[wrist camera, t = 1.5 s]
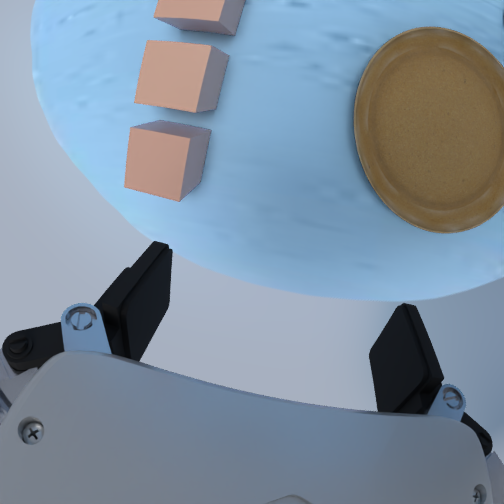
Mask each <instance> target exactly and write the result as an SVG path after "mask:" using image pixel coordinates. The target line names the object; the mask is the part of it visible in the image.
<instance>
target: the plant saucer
mask: <svg viewBox="0 0 504 504" xmlns="http://www.w3.org/2000/svg"><path fill="white" fill-rule="evenodd" d="M354 134H355V141H356V146H357V151H358V155H359V158H360V161H361V164H362V167H363V169H364V172H365V174H366V176H367V178H368V180H369V182H370V184H371V185H372V187H373V189H374V190H375V192H376V193H377V195H378V196H379V197H380V198H381V200H382V201H383V202H384V203H385V204H386V205H387V206H388V208H389V209H390V210H391V211H393V212H394V213H395V214H396V215H398V216H399V217H400V218H402V219H403V220H404V221H406V222H408V223H409V224H411V225H413V226H415V227H418V228H420V229H423V230H426V231H430V232H435V233H457V232H462V231H466V230H469V229H472V228H475V227H477V226H479V225H481V224H482V223H484V222H486V221H487V220H489V219H490V218H491V217H493V216H494V215H495V214H496V213H497V212H498V211H499V210H500V209H501V208H502V207H503V206H504V67H503V66H502V65H501V64H500V62H499V61H498V60H497V59H496V58H495V57H494V56H493V55H492V54H491V53H490V52H489V51H488V50H487V49H486V48H485V47H483V46H482V45H481V44H480V43H478V42H477V41H475V40H473V39H472V38H470V37H468V36H466V35H464V34H462V33H460V32H457V31H454V30H450V29H446V28H441V27H420V28H415V29H411V30H408V31H405V32H402V33H400V34H398V35H396V36H395V37H393V38H392V39H390V40H389V41H387V42H386V43H385V44H384V45H383V46H382V47H381V48H380V49H379V50H378V51H377V52H376V53H375V54H374V56H373V57H372V59H371V60H370V61H369V63H368V65H367V67H366V68H365V70H364V72H363V75H362V77H361V80H360V83H359V86H358V89H357V93H356V98H355V105H354Z"/></svg>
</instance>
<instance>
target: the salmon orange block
mask: <svg viewBox="0 0 504 504" xmlns="http://www.w3.org/2000/svg"><path fill="white" fill-rule="evenodd" d="M210 134H211V130H209V129H204V128H199V127H195V126H190V125H185V124H179V123H174V122H169V121H163V120H158V121H154V122H150V123H146V124H142V125H138V126H134V127H130V135H129V143H128V151H127V161H126V172H125V184H124V187H125V188H129V189H133V190H136V191H140V192H144V193H148V194H152V195H156V196H159V197H163V198H167V199H171V200H174V201H178V202H180V201H181V200H182V199H183V198H184V197H185V196H186V195H187V194H188V193H189V192H191V191H192V190H193V189H194V188H195V187H196V186H197V185H198V184H199V183H200V182H201V178H202V173H203V168H204V163H205V158H206V153H207V148H208V143H209V139H210Z"/></svg>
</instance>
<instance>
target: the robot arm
mask: <svg viewBox="0 0 504 504" xmlns="http://www.w3.org/2000/svg"><path fill="white" fill-rule="evenodd" d="M172 253H173V251H172V249H169V245H168V244H165V243H161V242H157V241H154V242H153V243H152V244H151V245H150V246H149V247H148V248H147V249H146V251H145V252H144V253H143V254H142V255H141V257H139V259H138V260H137V261H136V262H135V263H134V264H133V266H132V267H131V268H129V267H127V268H125V269H124V270H123V271H122V273H121V274H120V275H119V276H118V277H117V278H116V280H115V281H114V282H113V283H112V284H111V285H110V287H109V288H108V289H107V290H106V291H105V293H104V294H103V295H102V296H101V297H100V299H99V300H98V301H97V302H96V304H95V305H94V306H93V305H91V304H86V303H78V304H74V305H72V306H70V307H68V308H67V309H66V310H65V311H64V312H63V314H62V316H61V322H58V323H54V324H49V325H45V326H40V327H35V328H31V329H26V330H21V331H17V332H14V333H12V334H11V335H9V336H8V337H7V338H6V339H5V341H4V343H3V346H2V349H0V504H504V465H503V463H502V462H501V460H500V459H499V457H498V456H497V454H496V453H495V452H493V453H491V450H492V439H491V436H490V435H489V433H488V432H487V431H486V430H485V429H483V428H482V427H481V426H480V425H479V424H478V423H477V422H476V421H474V420H473V419H472V418H471V417H470V416H469V415H468V414H466V413H465V412H464V410H465V407H466V400H465V397H464V395H463V393H462V392H461V391H460V390H459V389H458V388H456V386H454V385H451V384H445V385H443V386H442V383H441V382H442V381H443V379H444V376H443V373H442V370H441V368H440V365H439V362H438V359H437V357H436V354H435V351H434V349H433V346H432V343H431V341H430V338H429V336H428V333H427V331H426V328H425V326H424V324H423V321H422V319H421V317H420V314H419V312H418V310H417V308H416V306H414V305H410V304H406V303H403V304H402V305H401V306H398V307H397V308H396V309H395V311H394V313H393V314H392V316H391V318H390V319H389V321H388V323H387V324H386V326H385V328H384V329H383V331H382V332H381V334H380V336H379V337H378V339H377V340H376V342H375V343H374V345H373V346H372V348H371V350H370V353H369V359H370V365H371V370H372V376H373V382H374V389H375V395H376V402H377V409H378V412H376V411H375V412H374V411H364V410H354V409H344V408H337V407H328V406H321V405H315V404H308V403H302V402H296V401H290V400H284V399H279V398H274V397H269V396H264V395H259V394H255V393H250V392H246V391H241V390H237V389H233V388H228V387H225V386H221V385H216V384H213V383H209V382H205V381H202V380H198V379H194V378H191V377H188V376H184V375H180V374H177V373H174V372H170V371H167V370H164V369H160V368H157V367H154V366H151V365H148V364H145V363H142V362H139V361H140V359H141V357H142V355H143V354H144V352H145V350H146V348H147V346H148V344H149V342H150V341H151V339H152V337H153V335H154V333H155V331H156V329H157V328H158V326H159V324H160V322H161V320H162V318H163V317H164V315H165V313H166V311H167V309H168V307H169V302H170V283H171V267H172Z"/></svg>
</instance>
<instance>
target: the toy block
mask: <svg viewBox="0 0 504 504" xmlns="http://www.w3.org/2000/svg"><path fill="white" fill-rule="evenodd" d="M228 59H229V55H227V54H226V53H224V52H222V51H220V50H219V49H217V48H215V47H213V46H210V45H202V44H193V43H183V42H171V41H153V40H147V43H146V47H145V51H144V56H143V60H142V65H141V69H140V74H139V79H138V84H137V90H136V95H135V101H134V103H138V104H145V105H152V106H159V107H166V108H172V109H178V110H183V111H189V112H194V113H197V112H203V111H209V110H215V109H216V107H217V103H218V99H219V95H220V91H221V86H222V82H223V78H224V75H225V71H226V67H227V63H228Z"/></svg>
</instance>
